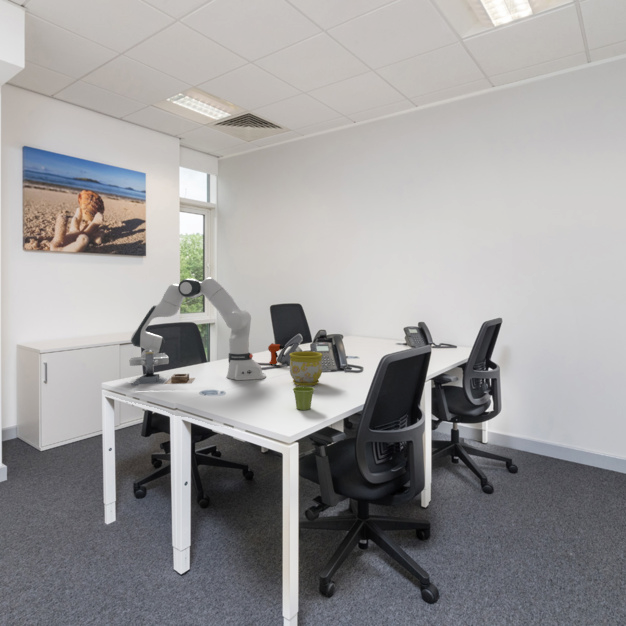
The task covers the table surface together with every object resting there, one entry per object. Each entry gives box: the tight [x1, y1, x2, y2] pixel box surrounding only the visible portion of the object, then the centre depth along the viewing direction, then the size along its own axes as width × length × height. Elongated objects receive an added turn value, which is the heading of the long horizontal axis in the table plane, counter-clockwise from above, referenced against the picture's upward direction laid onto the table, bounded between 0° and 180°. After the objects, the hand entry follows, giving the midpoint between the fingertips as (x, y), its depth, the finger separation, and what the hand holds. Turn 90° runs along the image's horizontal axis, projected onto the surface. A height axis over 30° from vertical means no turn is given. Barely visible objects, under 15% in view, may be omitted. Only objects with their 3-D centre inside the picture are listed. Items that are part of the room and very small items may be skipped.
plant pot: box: [292, 386, 315, 411], centre depth 187 cm, size 9×9×9 cm
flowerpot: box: [289, 350, 323, 387], centre depth 235 cm, size 18×18×16 cm
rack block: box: [130, 373, 168, 386], centre depth 233 cm, size 16×12×4 cm
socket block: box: [164, 373, 196, 385], centre depth 235 cm, size 14×14×4 cm
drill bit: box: [145, 350, 155, 377], centre depth 233 cm, size 4×4×15 cm
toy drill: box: [267, 343, 286, 364], centre depth 288 cm, size 5×19×15 cm, turn 57°
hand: (149, 363), depth 232 cm, fingers closed on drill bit, 4 cm apart
